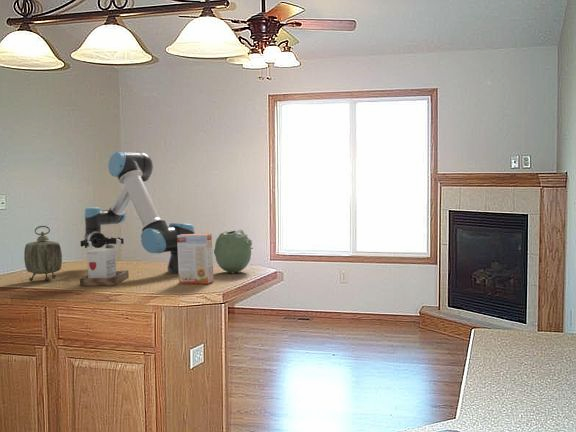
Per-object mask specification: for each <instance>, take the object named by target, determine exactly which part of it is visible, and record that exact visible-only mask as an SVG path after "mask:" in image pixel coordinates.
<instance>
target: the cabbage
mask: <svg viewBox="0 0 576 432" xmlns="http://www.w3.org/2000/svg"><path fill="white" fill-rule="evenodd" d="M248 236H249V235H248V234H245V232H244V230H243V229H238V230H233V231H232V230H231V231H227V230H224V232H221V233H220V234H219V236H218V237H217V238H216V240H215V244H214V249H213V253H214V256H215V261H216V262H217V264H218V266H219V267H220V268H221V269H222V270H223V271H225V272H226V273H232V274H235V273H239V272H241V271H243V270H244V269H246V267H247V266H248V265H249V263H250V260H251V259H252V258H251V256H252V249H254V247H252V245H253V241H252V239H250V238H249V237H248Z"/></svg>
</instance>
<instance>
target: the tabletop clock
mask: <svg viewBox="0 0 576 432" xmlns="http://www.w3.org/2000/svg"><path fill="white" fill-rule="evenodd" d="M40 228H46V229H48V231H47V232H45V233H44V231H41V232H40V233H38V232H37V230H38V229H40ZM50 231H51V229H50V227H49V226H47V225H39V226H37V227H36V228H35V229H34V233H35V234H36V235H38V236H37V239H36V241H32V242H28V243H26V244H25V246H24V254H23V255H24V256H23V260H24V266H25V270H26V272H27V273H31V274H32V276H31V277H29V282H32V281H34V277H35V276H36V275H45V278H44V280H45V281H46V282H49V280H50V278H49V277H48V274H51V275H52V277H51V278H53V279H56V274H55V273H56V272H59V271H60V270H61V269H62V265H63V263H62V262H63V253H62V246H61V245H60V243H59V242H58V241H50V239H49V237H48V236H46V235H48V234H49V233H50Z"/></svg>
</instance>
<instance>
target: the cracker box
mask: <svg viewBox="0 0 576 432" xmlns="http://www.w3.org/2000/svg"><path fill="white" fill-rule="evenodd" d="M177 247H178V272H179V273H178V284H192V285H193V284H195V285H208V284H211V283H214V280H215V279H214V261H213V260H214V258H213V253H214V252H213V234H212V233H195V234H181V235H177Z"/></svg>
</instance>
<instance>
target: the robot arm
mask: <svg viewBox="0 0 576 432" xmlns="http://www.w3.org/2000/svg"><path fill="white" fill-rule="evenodd" d="M107 167H108V173H109V174H110V175H111V176H112V177H116V178H117V179H118V182H119V183H120V184H122V185H123V186H122V188H121V190H120V191H119V192H118V195H117V196H116V197H115V199H114V201H113V202H112V204H111V205H110V207H109V208H108V209H105V210H101V208H100V207H99V206H96V207H95V206H91V207H90V206H89V207H86V208H85V209H84V222H85V226H84V227H85V229H84V230H85V232H84V233H85V234H84V237H83V238H84V239H83V240H80V241H79V242H80V247H84V248H85V249H88V248H89V249H92V247H94V249H97V248H103V247H104V246H106V245H117V246H118V247H122V245H123V244H124V241H125V240H124V238H122V237H119V236H118V237H112V236H111V237H110V238H109V237H107V236H106V235H105V234H103V233H101V232H102V230H101V228H102V226H105V225H118V224H122V223H123V222H125V220H126V217H127V216H126V213H125V212H126V211H127V209H128V208H129V206H130V205H131V203H132V204H133V206H134V208H135V211H136V213H137V215H138V218H139V220H140V222H141V224H142V228H141V235H140V238H141V239H140V242H141V245H142V247H143V249H144V250H145V251H146V252H148V253H150V254H162V253H167V252H170V257H169V259H168V264H167V268H166V270H167V273H169V274H179V272H178V247H177V235H181V234H196V233H195V227H194V224H192V223H178V222H177V223H175V222H171V223H169V225H167V222H166V220H165V219H163V218H161V216H160V214H159V212H158V211H157V208H156V206H155V204H154V202H153V200H152V197H151V195H150V193H149V191H148V189H147V187H146V185H145V182H148V180H149V179H150V177H151V175H152V174H153V170H154V165H153V160H152V159H151V157H150V156H149V155H148V154H147V153H146V152H143V151H122V150H121V151H116V152H114V153H112V154H111V155H110V157H109V160H108V166H107Z"/></svg>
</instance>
